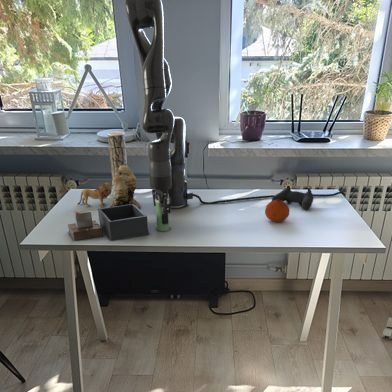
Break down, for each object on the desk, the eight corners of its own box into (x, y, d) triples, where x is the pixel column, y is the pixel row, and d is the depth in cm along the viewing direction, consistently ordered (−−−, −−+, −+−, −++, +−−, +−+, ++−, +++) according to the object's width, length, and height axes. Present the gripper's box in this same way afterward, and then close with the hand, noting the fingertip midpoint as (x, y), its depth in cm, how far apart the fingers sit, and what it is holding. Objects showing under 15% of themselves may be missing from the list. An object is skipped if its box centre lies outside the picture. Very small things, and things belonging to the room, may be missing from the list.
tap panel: (95, 227, 184) (94, 219, 183) (102, 236, 177) (101, 227, 175) (68, 232, 181) (67, 223, 179) (74, 241, 174) (73, 232, 172)
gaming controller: (309, 216, 200) (319, 197, 203) (308, 206, 195) (318, 187, 198) (271, 209, 207) (281, 191, 210) (269, 199, 203) (279, 181, 206)
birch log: (126, 196, 216) (121, 134, 203) (111, 195, 218) (105, 134, 204) (131, 191, 222) (126, 131, 208) (116, 191, 223) (110, 130, 209)
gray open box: (134, 220, 190) (133, 203, 187) (148, 234, 178) (147, 216, 175) (99, 226, 186) (97, 208, 182) (111, 240, 174) (109, 221, 170)
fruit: (293, 221, 188) (295, 200, 183) (274, 226, 184) (276, 204, 179) (278, 215, 194) (280, 194, 190) (260, 219, 190) (261, 198, 186)
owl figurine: (115, 202, 210) (110, 159, 200) (142, 202, 209) (139, 159, 200) (105, 216, 195) (100, 171, 185) (135, 216, 194) (131, 171, 185)
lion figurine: (113, 202, 209) (111, 180, 204) (112, 206, 205) (110, 184, 200) (78, 204, 208) (75, 182, 203) (76, 208, 204) (73, 185, 199)
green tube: (166, 226, 185) (165, 196, 179) (171, 230, 182) (170, 199, 176) (155, 227, 184) (153, 198, 178) (159, 232, 180) (157, 201, 174)
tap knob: (91, 223, 179) (89, 209, 176) (93, 225, 177) (91, 211, 174) (76, 226, 177) (73, 211, 174) (77, 228, 175) (75, 213, 173)
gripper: (178, 176, 167) (179, 226, 177) (163, 167, 178) (165, 214, 188) (157, 179, 165) (159, 229, 174) (143, 169, 176) (146, 217, 185)
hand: (162, 221), depth 181 cm, fingers closed on green tube, 4 cm apart
